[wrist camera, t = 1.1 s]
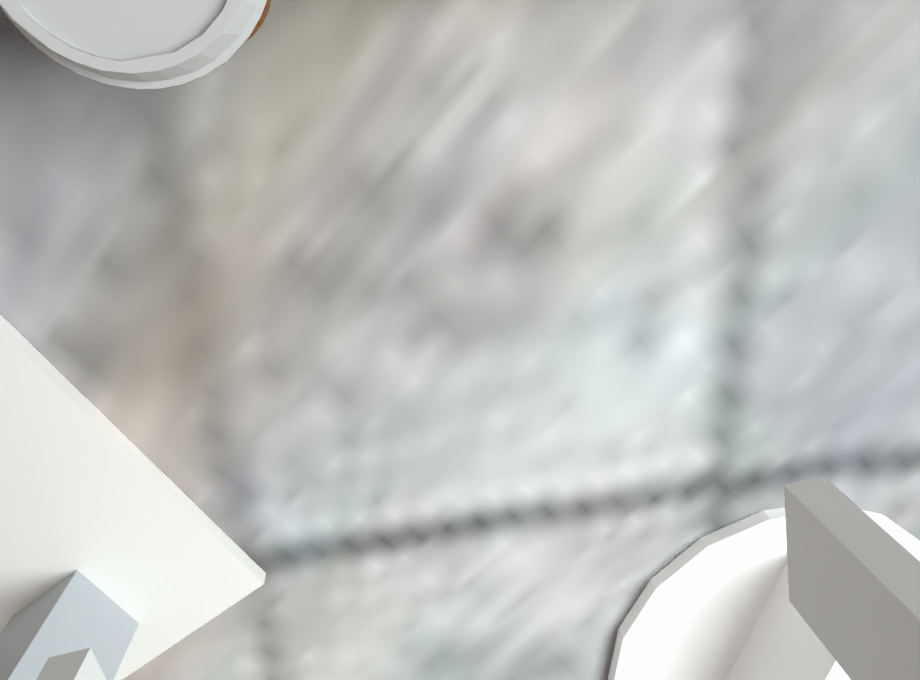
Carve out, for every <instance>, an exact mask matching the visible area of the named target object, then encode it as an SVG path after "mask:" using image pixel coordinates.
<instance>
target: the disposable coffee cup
mask: <svg viewBox="0 0 920 680" xmlns="http://www.w3.org/2000/svg"><path fill="white" fill-rule="evenodd" d="M270 2H271V0H0V8H1V9H2V10H3V12H4V13H5V15H6V16H7V18H8V19H9V20H10V21H11V22H12V23H13V24H14V25H15V26H16V27H17V28H18V30H19V31H20V32H21V33H22V34H23V35H24V36H25V37H26V38H27V39H28V40H29V41H30V42H31V43H33V44H34V45H35V46H36V47H37V48H38V49H40V50H41V51H42V52H44V53H45V54H46V55H48V56H49V57H50V58H52V59H53V60H54V61H56V62H58V63H59V64H61V65H63V66H65V67H67V68H69V69H70V70H72V71H74V72H76V73H78V74H80V75H82V76H85V77H87V78H90V79H93V80H96V81H98V82H101V83H104V84H108V85H114V86H120V87H126V88H132V89H160V88H166V87H172V86H177V85H182V84H184V83H187V82H190V81H192V80H195V79H198V78H200V77H202V76H204V75H206V74H207V73H209V72H211V71H212V70H214V69H216V68H217V67H219V66H221V65H222V64H224V63H225V62H226V61H227V60H228V59H229V58H230V57H231V56H232V55H233V54H234V53H235V52H236V51H237V50H238V49H239V47H240V46H241V45H242V44H243V43H244V42H246V41H247V40H248V39H249V38H251V37H252V36H253V35H254V34H255V32H256V31H257V30H258V28H259V27H260V26H261V25H262V23H263V21H264V19H265V17H266V14H267V12H268V10H269V6H270Z"/></svg>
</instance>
